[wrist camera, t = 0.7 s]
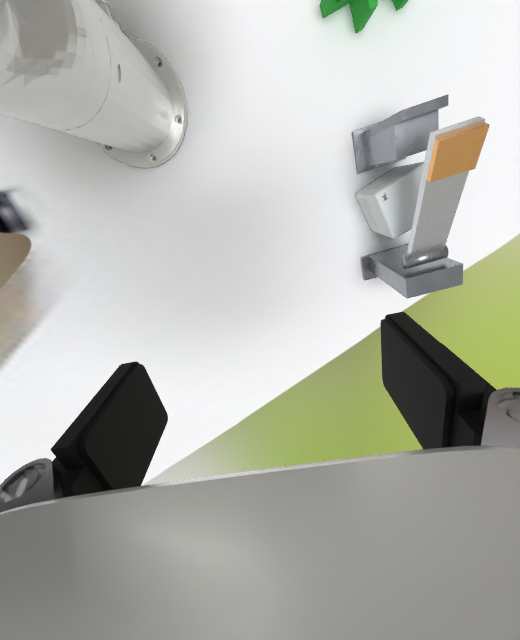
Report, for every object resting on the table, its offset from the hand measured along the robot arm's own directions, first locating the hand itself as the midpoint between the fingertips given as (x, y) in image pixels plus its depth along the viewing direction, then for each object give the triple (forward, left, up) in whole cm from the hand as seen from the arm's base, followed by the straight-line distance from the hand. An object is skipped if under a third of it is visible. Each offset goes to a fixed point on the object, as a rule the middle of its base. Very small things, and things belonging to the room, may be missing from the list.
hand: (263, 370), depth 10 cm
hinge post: (+8, +17, -32) cm, 38 cm away
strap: (0, +17, -20) cm, 27 cm away
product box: (0, +17, -33) cm, 37 cm away
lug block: (-6, +17, -32) cm, 37 cm away
